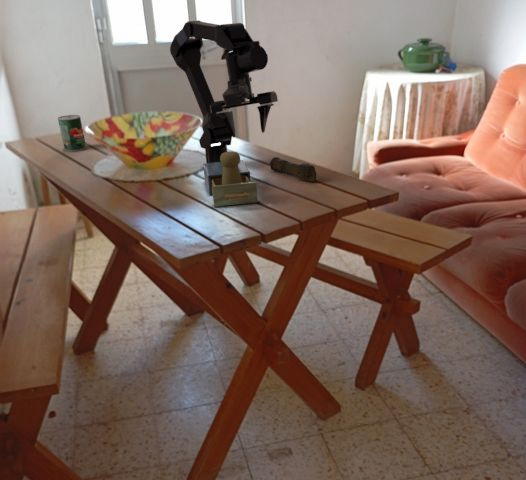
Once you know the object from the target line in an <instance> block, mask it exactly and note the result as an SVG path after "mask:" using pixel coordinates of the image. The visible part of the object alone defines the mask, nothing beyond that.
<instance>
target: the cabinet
mask: <svg viewBox="0 0 526 480" xmlns="http://www.w3.org/2000/svg"><path fill="white" fill-rule="evenodd" d="M202 166H203V167H202V168H203V177H204V183H205V184H204V185H205V187H206V189H207V192H208V195H209V196H211V197H212V196H213V192H212V188H211V178H212V177H222V173H223V165H222V164H221V162H217V163H206V162H205V163H203V164H202ZM238 166H239V171H240V175H244V174H246V176H247V178H248V179H249V181H250V182H251V170H249V168H248V167H247V165H246V163H245V162H244V160H243V159H240V163H239V165H238Z"/></svg>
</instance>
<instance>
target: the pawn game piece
mask: <svg viewBox="0 0 526 480" xmlns="http://www.w3.org/2000/svg"><path fill="white" fill-rule="evenodd" d="M227 151H228V150H227ZM240 160H241V157H240V154H239V153H238V152H237V151H231V150H230V151H228V152H224V153H222V154H221V156H220V161H221V164H222V165H223V173H222V185H226V184H236V183H242V182H241V176H240V171H239V166H238V165H239V163H240Z"/></svg>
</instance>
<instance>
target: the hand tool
mask: <svg viewBox="0 0 526 480" xmlns="http://www.w3.org/2000/svg"><path fill="white" fill-rule="evenodd" d="M269 166H270V170H271V171H275V172H277V171H279V172H282V173H284V174H288V175H292V176H296V177H298V178H299V180H300V181H304V182H312V183H313V182H314V183H315V182H316V181H317V171H316V167H315V166H314V165H313V164H309V163H304V162H303V163H300V164H299V163H295V162H292V161H288V160H285V159H281V158H280V157H278V156H277V157H273V158H271V160H270V161H269Z"/></svg>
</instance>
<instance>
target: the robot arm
mask: <svg viewBox="0 0 526 480" xmlns="http://www.w3.org/2000/svg"><path fill="white" fill-rule="evenodd" d="M203 40H207V41H212V42H214V43H215V45H216V46H218V47H219V48H221V49H224V52H223V53H222V55H221V57H220V60H222V61H225V64H226V70H227V75H228V80H227V88H226V89H225V90H224V92H223V93H222V98H223V100H218V101H216V100H215V99H214V97H213V94H212V92H211V89H210V86H209V84H208V81H207V79H206V77H205V75H204V72H203V69H202V67H201V62H202V61H201V60H202V52H201V50H202V47H203V46H204V41H203ZM169 51H170V56H171V57H172V59H173V60H174V63H175V65H176V66H177V67H178V68H180V70H182V71H183V72H184V73H185V75H186V78H187V79H188V80H187V81H188V83H189V85H190V87H191V90H192V92H193V96H194V97H195V100H196V102H197V105H198V108H199V110H200V113H201V115H202V126H201V129H202V133H201V136H200V138H199V139H198V140H199V141H198V142H199V147H200V148H202V149H204V151H205V152H204V153H205V164H206V163H217V162H221V161H220V156H221V154H222V153H224V152H228V146H231V145H232V138H235V137H236V127H235V120H234V112H233V110H230V109H233V108H239V107H244V106H250V105H255V104H259V106H256V108H257V110H258V112H259V124H260V130H261V133H262V134H264V133H265V132H266V127H267V123H268V118H269V114H270V111H271V108H272V107H273V106H274V105H275V103H276V102H277V103H278V101H279V99H278V95H277V92H275V90H273V91H272V90H271V91H266V92H261V93H260V92H259V93H257V94H256V96H255V93H254V92H253V90H252V84H251V82H252V81H253V79H252V76H250V73H252V72H258V71H261V70H264V69H265V68H266V67H267V65H268V61H269V55H268V54H267V51H266V49H265V48H264V47H263V46H262V45H261V44H260V41H259V40H254V39H253V38H252V37H251V35H250V33H249V32H248V30H247V29H246V28H245V25H244V24H243V23H242V22H234V23H224V24H223V23H222V24H217V23H212V22H211V23H210V22H204V21H201V20H189V21H186V22H185V23H184V25H183V27H182V29H181V30H179V31H178V32H177V33H176V34H175V35H174V37H173V39H172V41H171V43H170V47H169Z"/></svg>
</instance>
